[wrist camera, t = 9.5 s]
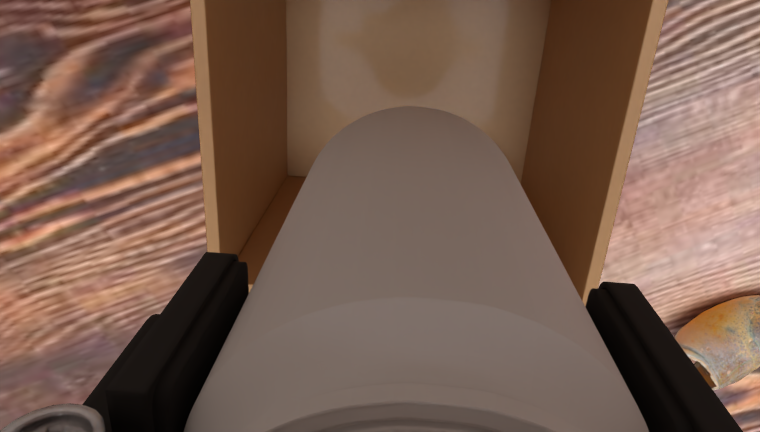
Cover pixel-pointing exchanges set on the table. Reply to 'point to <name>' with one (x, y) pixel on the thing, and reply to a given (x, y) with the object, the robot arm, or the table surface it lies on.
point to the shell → (724, 341)
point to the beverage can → (413, 301)
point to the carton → (422, 101)
